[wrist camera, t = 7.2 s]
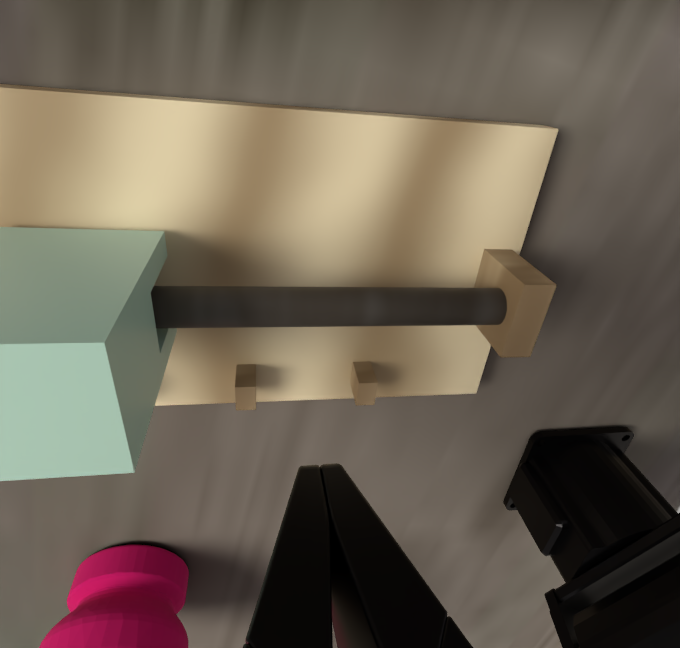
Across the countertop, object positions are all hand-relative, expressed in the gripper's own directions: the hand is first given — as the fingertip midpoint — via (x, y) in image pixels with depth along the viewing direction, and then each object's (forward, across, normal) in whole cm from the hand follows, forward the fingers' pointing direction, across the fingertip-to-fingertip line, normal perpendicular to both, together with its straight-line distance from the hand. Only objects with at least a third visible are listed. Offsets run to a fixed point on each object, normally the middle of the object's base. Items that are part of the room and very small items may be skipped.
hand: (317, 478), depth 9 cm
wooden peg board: (+10, +2, 0) cm, 11 cm away
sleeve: (+9, +7, 0) cm, 11 cm away
